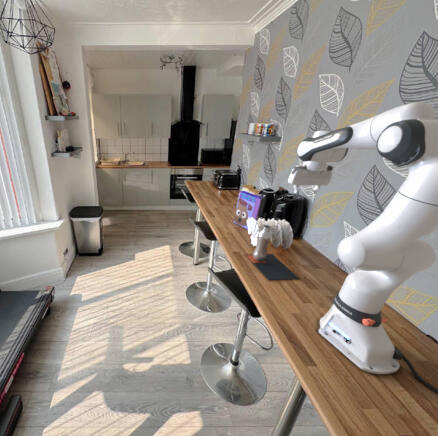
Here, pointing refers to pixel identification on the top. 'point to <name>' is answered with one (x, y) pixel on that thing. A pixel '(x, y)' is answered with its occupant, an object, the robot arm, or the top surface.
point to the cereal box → (248, 208)
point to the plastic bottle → (262, 244)
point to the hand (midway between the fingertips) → (304, 193)
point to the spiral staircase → (278, 231)
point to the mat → (273, 268)
